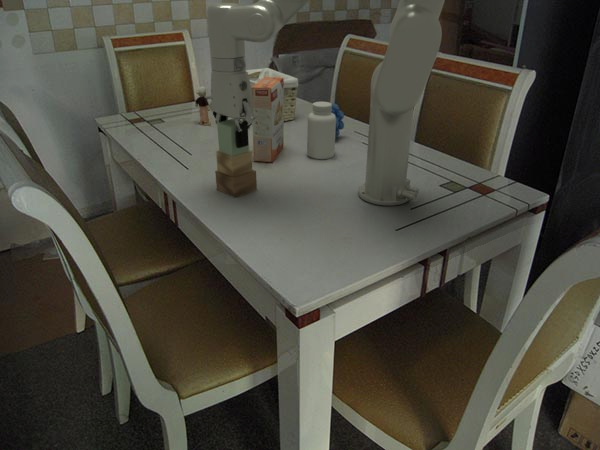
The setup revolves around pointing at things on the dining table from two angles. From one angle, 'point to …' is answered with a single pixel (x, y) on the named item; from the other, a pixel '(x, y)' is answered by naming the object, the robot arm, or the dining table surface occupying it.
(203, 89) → the grandmother figurine
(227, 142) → the sage block
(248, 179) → the tower base
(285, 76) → the storage basket
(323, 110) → the pill bottle
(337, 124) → the grapes
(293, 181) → the dining table surface
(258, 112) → the cracker box
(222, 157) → the tower mid
